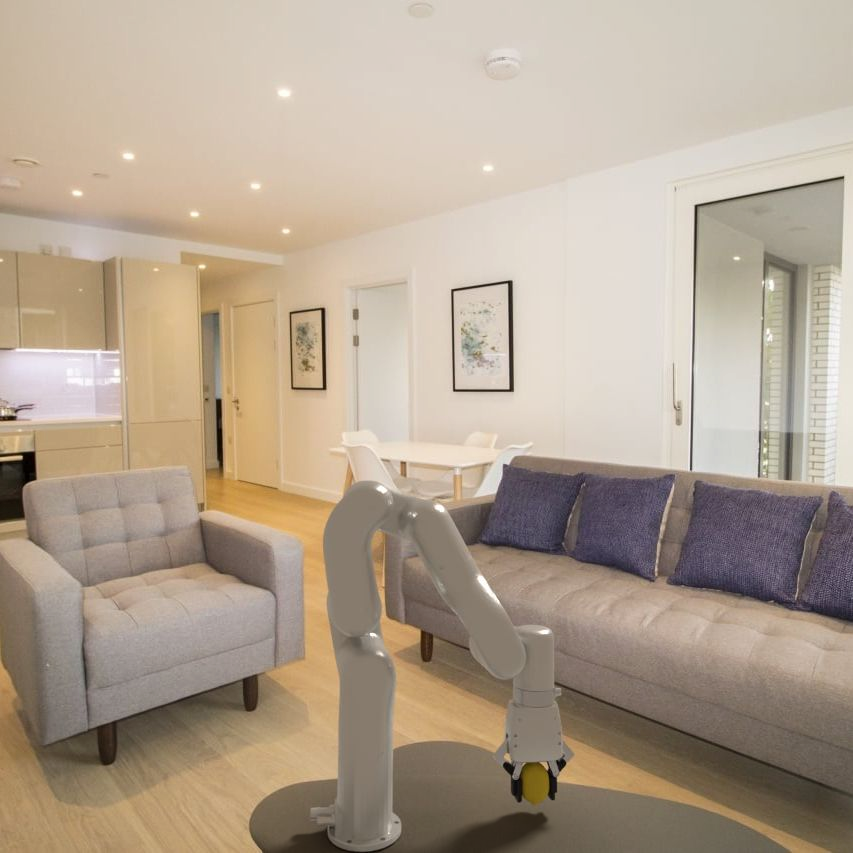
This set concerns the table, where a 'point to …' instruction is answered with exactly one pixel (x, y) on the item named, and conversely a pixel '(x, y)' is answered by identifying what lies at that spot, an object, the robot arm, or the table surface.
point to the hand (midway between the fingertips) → (533, 796)
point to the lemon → (534, 782)
